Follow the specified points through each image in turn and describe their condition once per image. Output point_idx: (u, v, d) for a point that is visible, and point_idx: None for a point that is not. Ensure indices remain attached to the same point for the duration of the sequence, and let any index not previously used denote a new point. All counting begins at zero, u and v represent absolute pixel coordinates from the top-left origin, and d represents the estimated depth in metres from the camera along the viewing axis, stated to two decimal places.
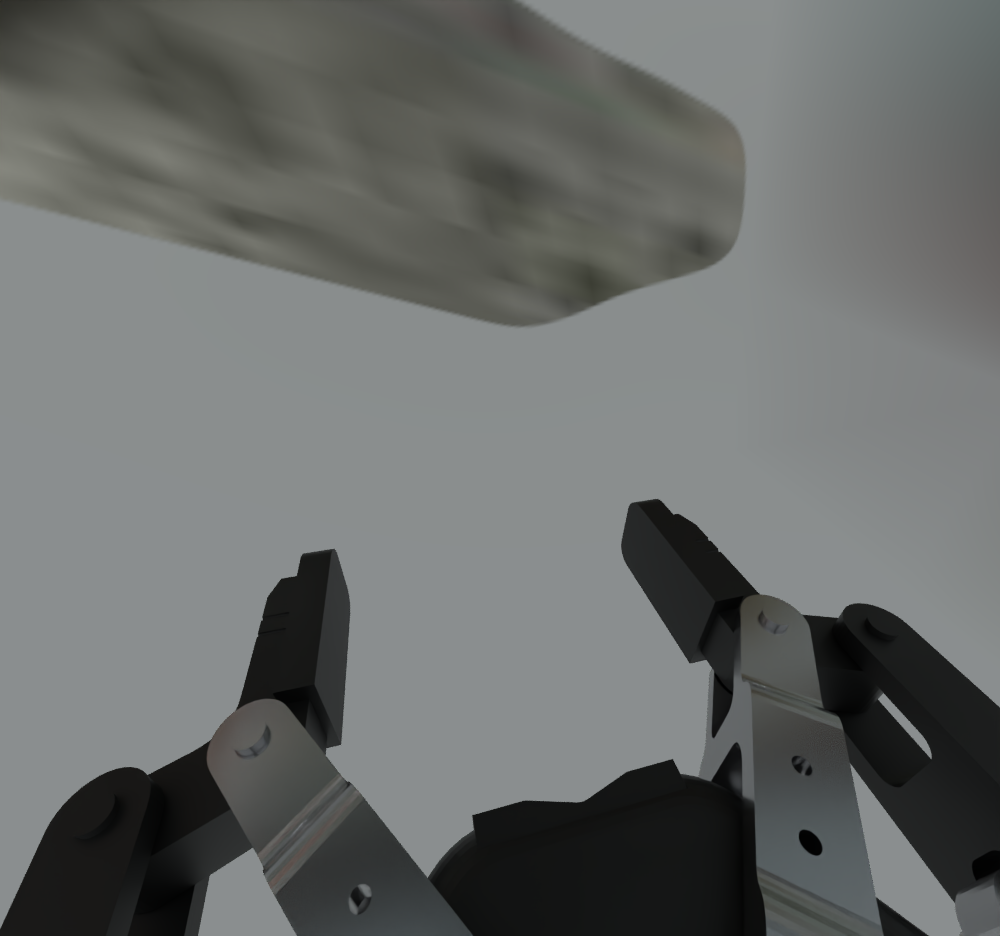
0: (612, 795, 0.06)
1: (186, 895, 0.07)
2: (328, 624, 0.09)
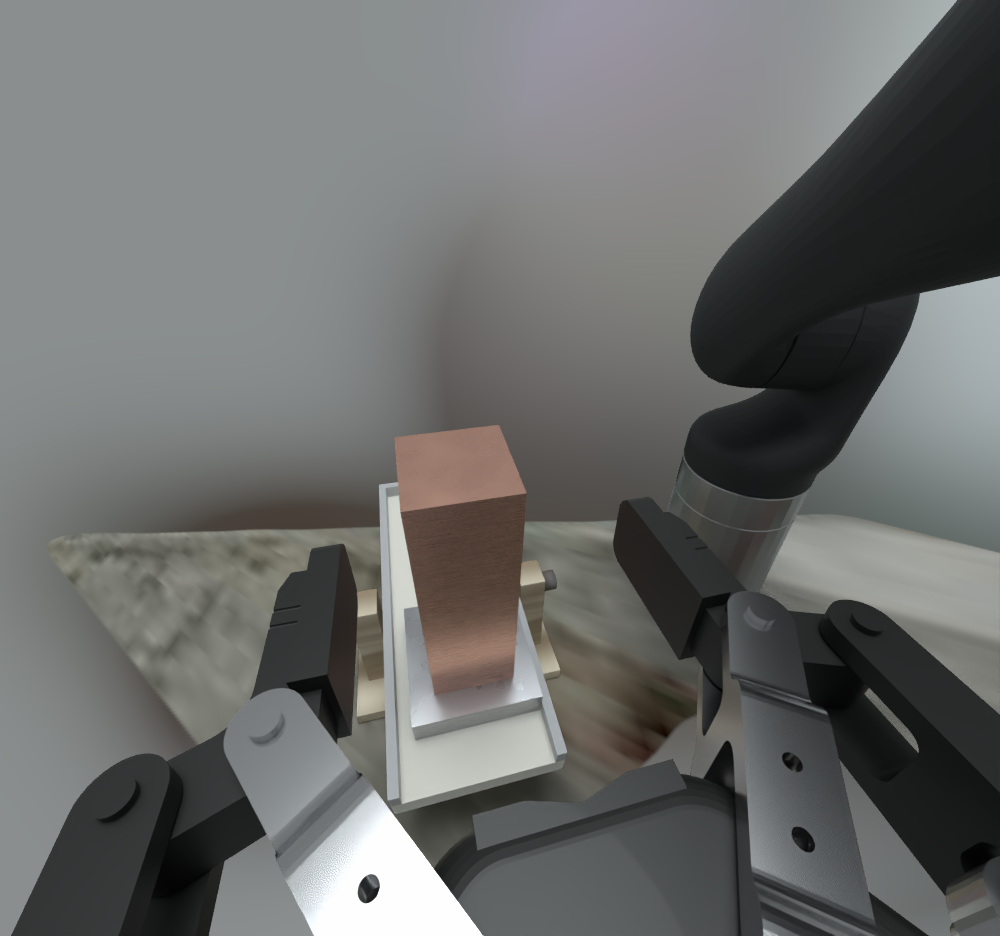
0: (612, 795, 0.06)
1: (201, 882, 0.07)
2: (339, 617, 0.09)
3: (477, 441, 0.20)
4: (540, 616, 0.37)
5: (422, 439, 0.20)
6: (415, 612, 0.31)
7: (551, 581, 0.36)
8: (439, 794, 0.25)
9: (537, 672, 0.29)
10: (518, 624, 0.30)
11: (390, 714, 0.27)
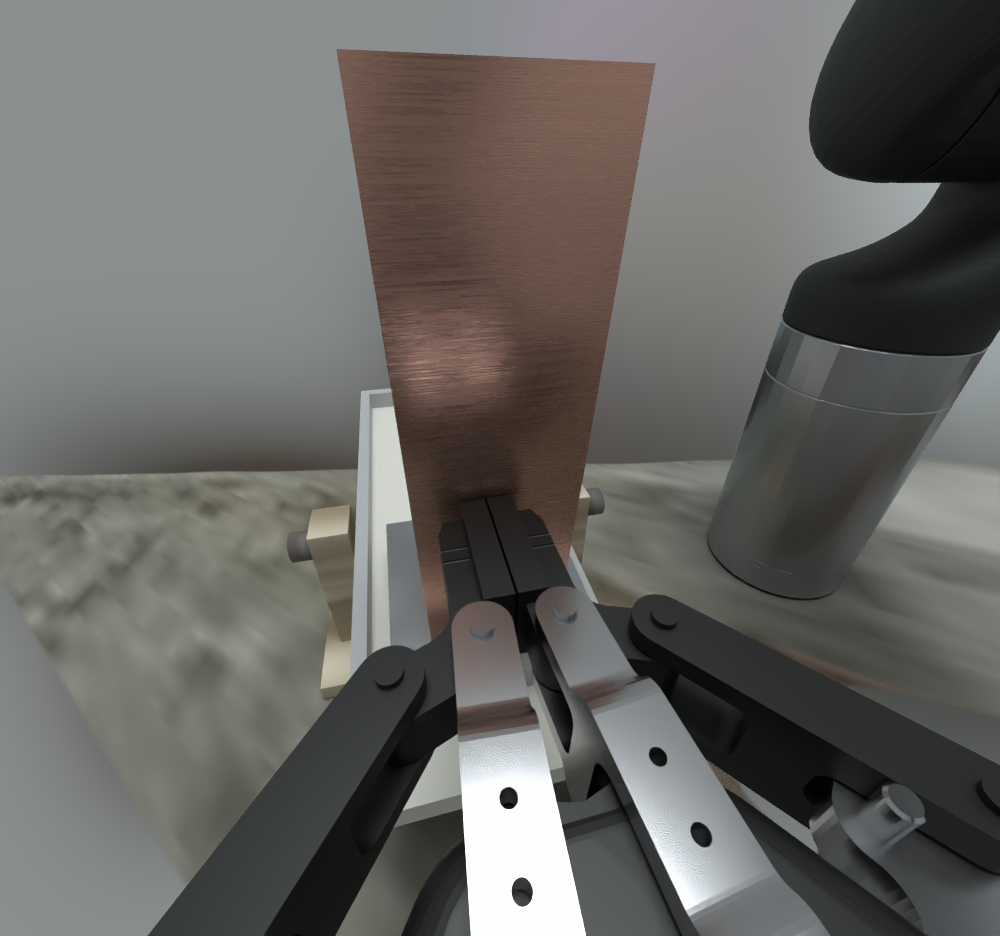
0: (612, 796, 0.06)
1: (409, 772, 0.08)
2: None
3: None
4: (579, 553, 0.27)
5: None
6: (403, 528, 0.21)
7: (597, 501, 0.26)
8: (438, 802, 0.14)
9: None
10: None
11: None
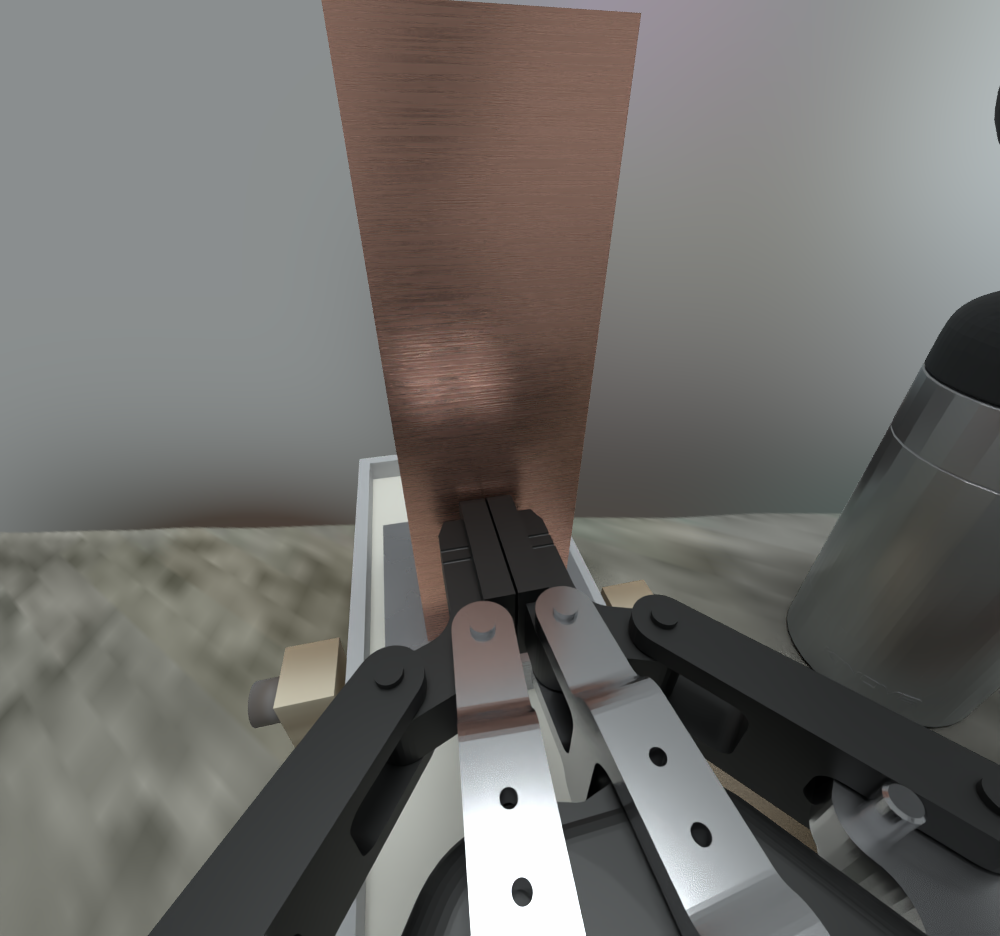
0: (612, 794, 0.06)
1: (409, 772, 0.08)
2: None
3: None
4: None
5: None
6: (400, 529, 0.20)
7: None
8: None
9: None
10: None
11: None
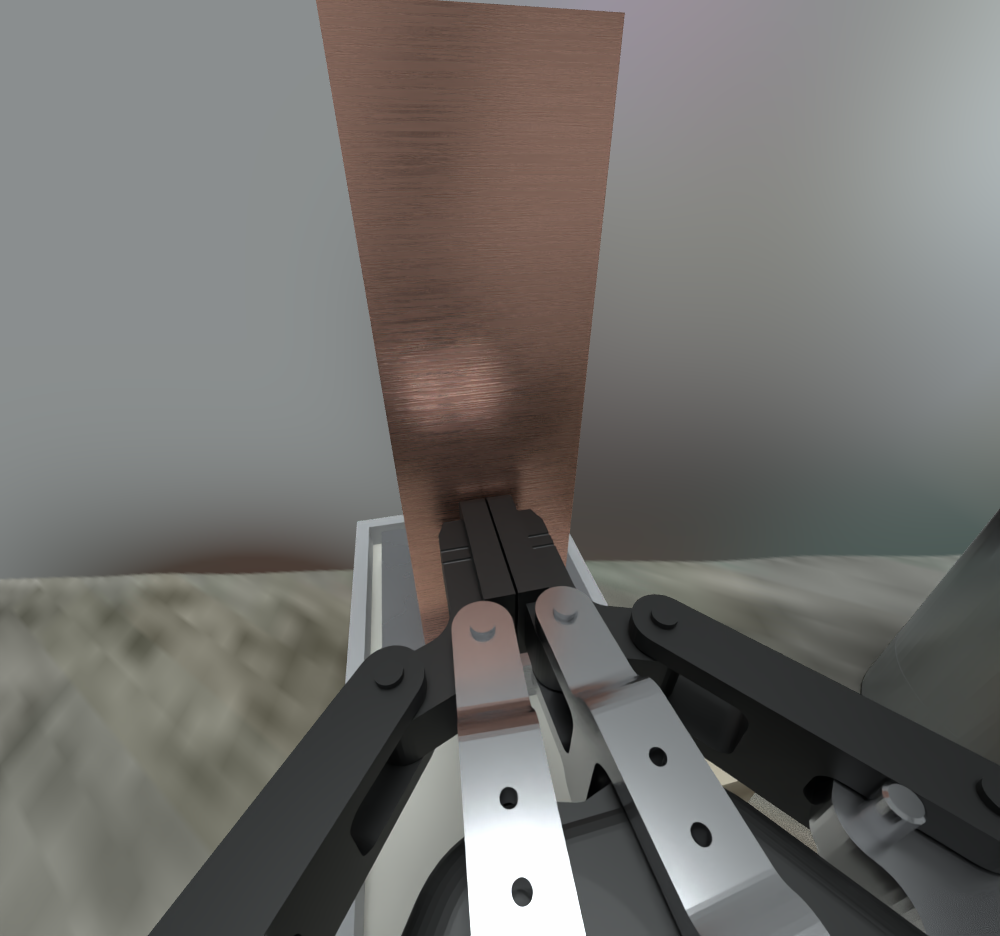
0: (612, 795, 0.06)
1: (409, 772, 0.08)
2: None
3: None
4: None
5: None
6: (399, 535, 0.20)
7: None
8: None
9: None
10: None
11: None
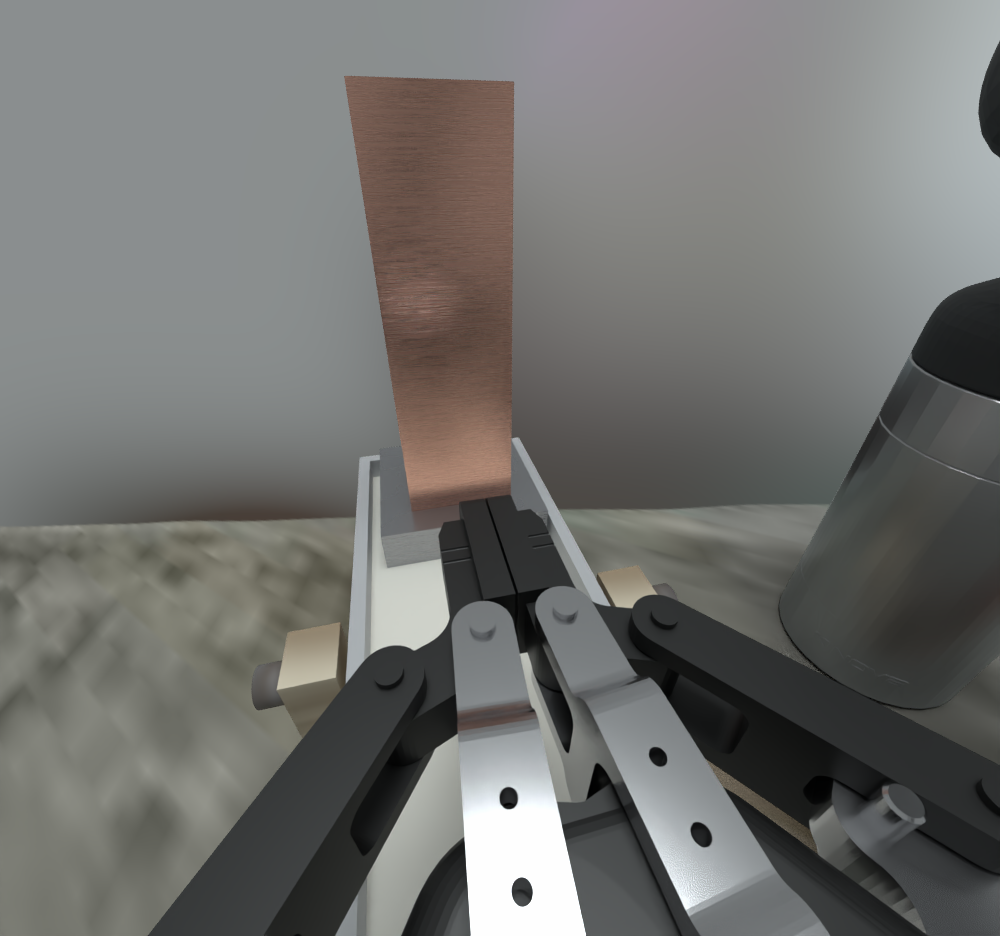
0: (612, 796, 0.06)
1: (409, 772, 0.08)
2: None
3: None
4: None
5: None
6: (393, 450, 0.26)
7: None
8: None
9: None
10: (516, 457, 0.25)
11: None
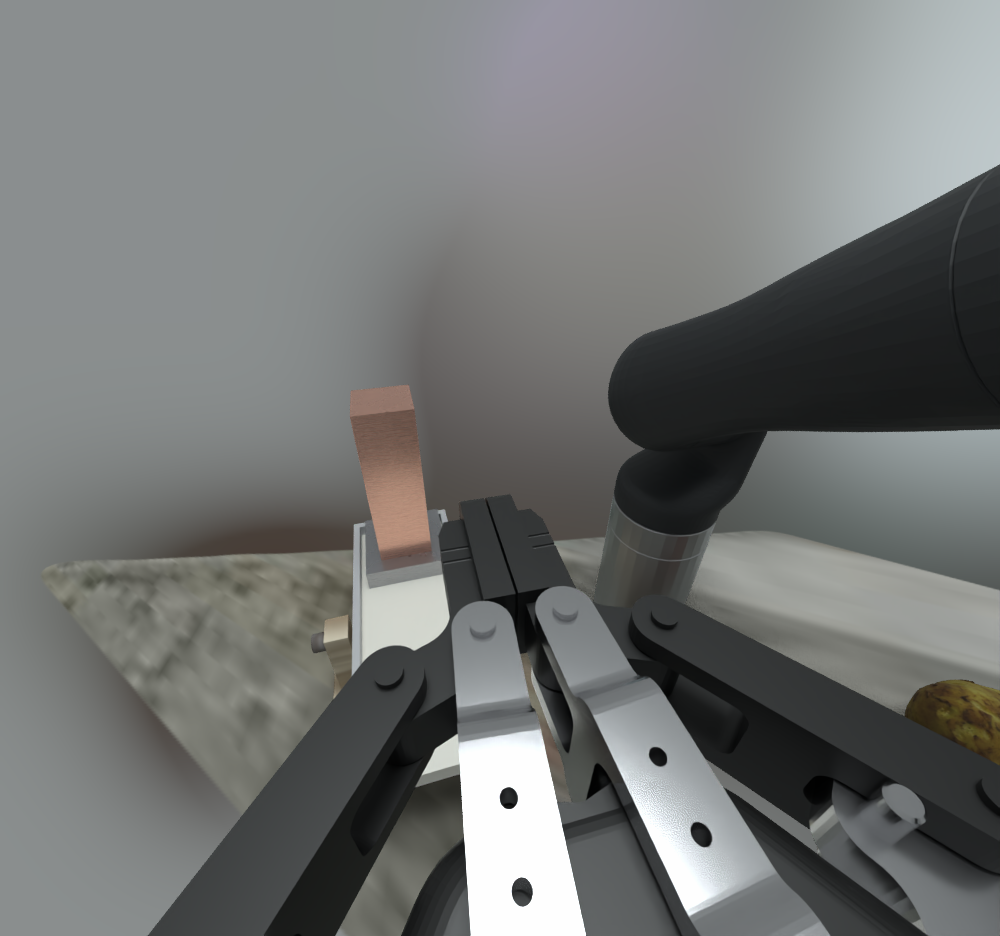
0: (612, 795, 0.06)
1: (409, 772, 0.08)
2: None
3: (395, 391, 0.38)
4: None
5: (365, 391, 0.38)
6: (372, 522, 0.48)
7: None
8: None
9: None
10: (439, 526, 0.47)
11: None
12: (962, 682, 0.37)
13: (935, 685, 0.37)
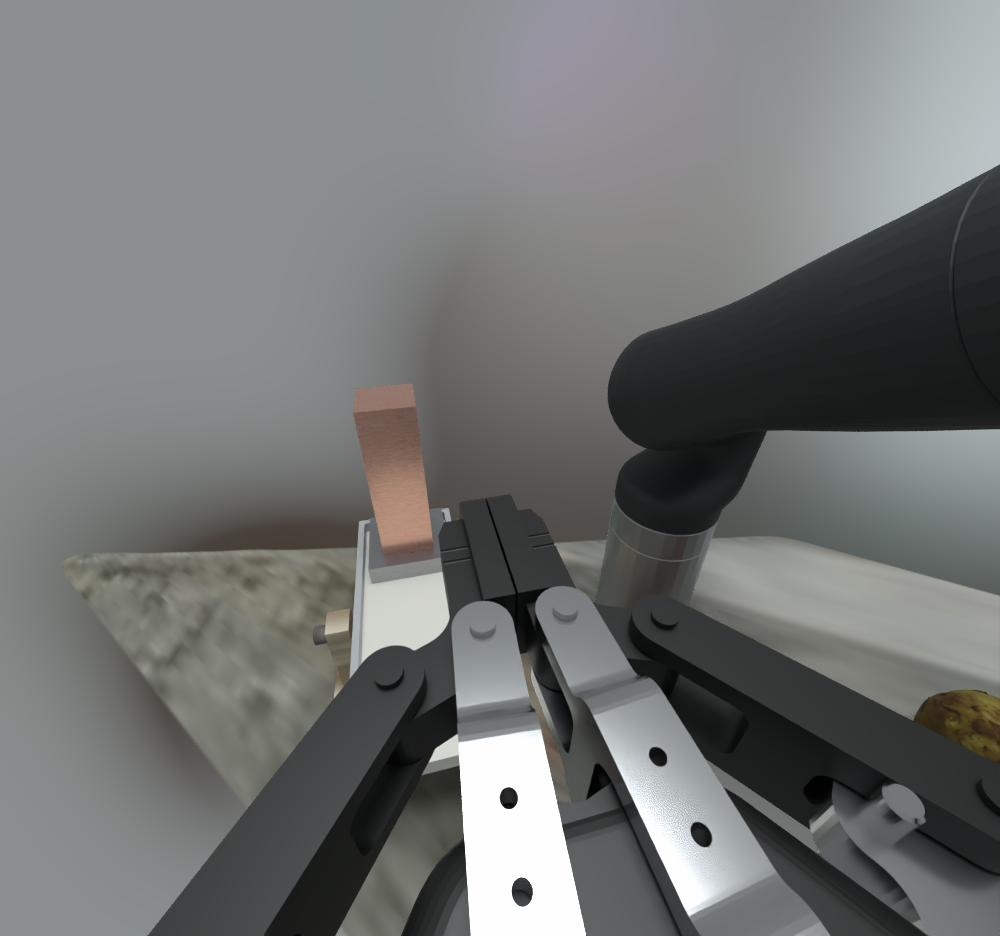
0: (611, 795, 0.06)
1: (409, 772, 0.08)
2: None
3: (398, 389, 0.39)
4: None
5: (370, 389, 0.39)
6: None
7: None
8: None
9: None
10: (442, 524, 0.48)
11: None
12: (974, 692, 0.36)
13: (944, 694, 0.36)
